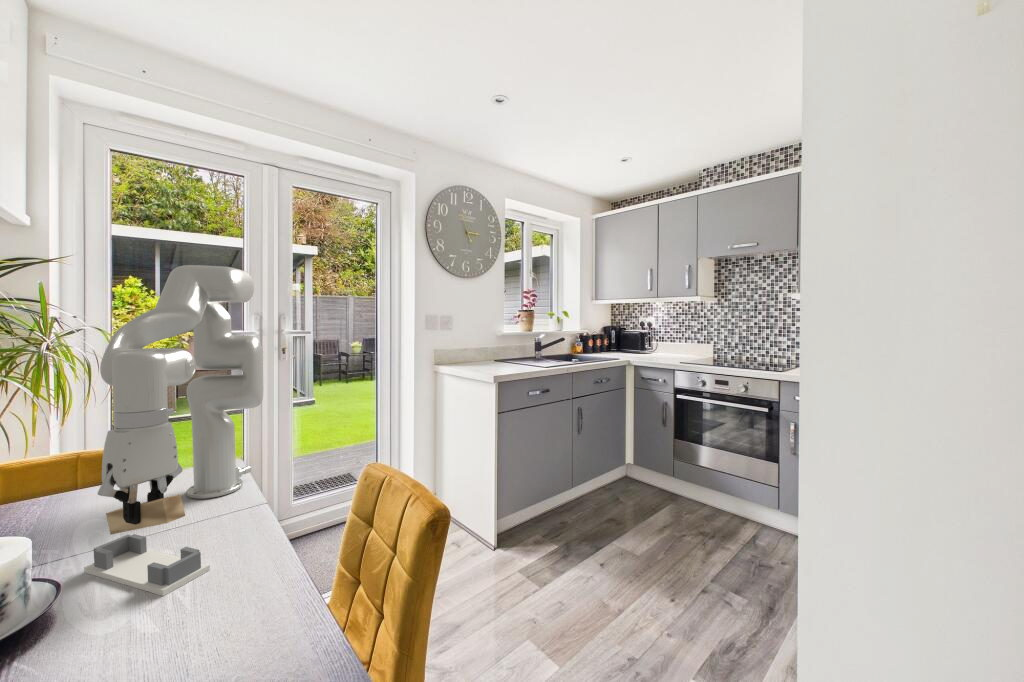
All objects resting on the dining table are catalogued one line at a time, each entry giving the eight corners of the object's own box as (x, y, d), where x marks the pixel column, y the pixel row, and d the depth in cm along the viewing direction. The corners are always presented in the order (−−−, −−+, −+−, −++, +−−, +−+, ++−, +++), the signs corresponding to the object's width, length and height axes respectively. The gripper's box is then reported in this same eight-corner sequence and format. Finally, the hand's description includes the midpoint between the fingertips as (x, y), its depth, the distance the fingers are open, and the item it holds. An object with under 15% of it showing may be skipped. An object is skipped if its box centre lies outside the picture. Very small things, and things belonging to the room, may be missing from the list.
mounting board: (134, 550, 87) (133, 531, 87) (209, 570, 80) (209, 549, 80) (84, 572, 79) (83, 551, 79) (163, 596, 73) (162, 573, 72)
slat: (129, 527, 82) (124, 506, 83) (185, 515, 78) (180, 494, 78) (110, 534, 80) (105, 513, 80) (167, 523, 75) (162, 500, 75)
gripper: (174, 409, 87) (176, 499, 88) (70, 427, 72) (74, 536, 72) (201, 412, 85) (203, 503, 85) (100, 431, 69) (103, 543, 70)
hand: (144, 517), depth 79 cm, fingers closed on slat, 3 cm apart
